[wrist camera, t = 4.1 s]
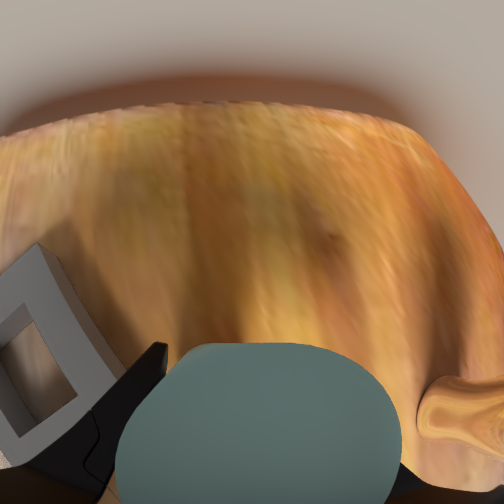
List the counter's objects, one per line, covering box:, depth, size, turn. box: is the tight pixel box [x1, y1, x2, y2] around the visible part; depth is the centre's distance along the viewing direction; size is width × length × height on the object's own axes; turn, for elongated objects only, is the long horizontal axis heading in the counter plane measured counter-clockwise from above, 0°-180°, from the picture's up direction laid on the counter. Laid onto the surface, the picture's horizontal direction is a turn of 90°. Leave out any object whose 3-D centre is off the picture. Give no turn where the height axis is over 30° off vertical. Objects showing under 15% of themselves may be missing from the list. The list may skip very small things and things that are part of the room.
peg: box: [115, 343, 402, 504], centre depth 9 cm, size 4×4×13 cm
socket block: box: [0, 242, 127, 467], centre depth 12 cm, size 11×11×3 cm
